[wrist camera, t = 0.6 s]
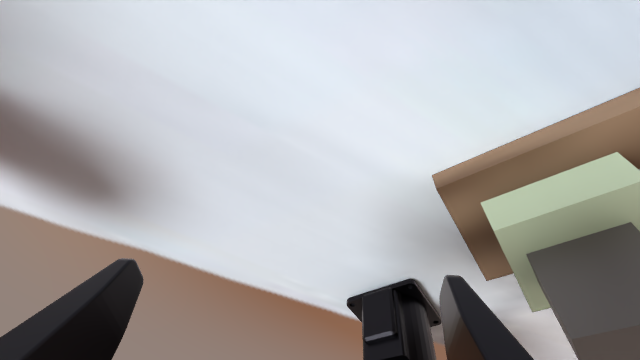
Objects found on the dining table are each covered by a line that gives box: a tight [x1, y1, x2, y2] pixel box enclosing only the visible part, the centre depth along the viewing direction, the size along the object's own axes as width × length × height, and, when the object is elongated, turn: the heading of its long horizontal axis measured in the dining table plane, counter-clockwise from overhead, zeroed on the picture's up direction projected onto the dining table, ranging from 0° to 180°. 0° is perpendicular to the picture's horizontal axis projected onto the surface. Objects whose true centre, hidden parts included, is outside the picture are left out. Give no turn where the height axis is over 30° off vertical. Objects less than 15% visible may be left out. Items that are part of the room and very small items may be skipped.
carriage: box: [481, 152, 640, 360], centre depth 18 cm, size 8×7×7 cm
